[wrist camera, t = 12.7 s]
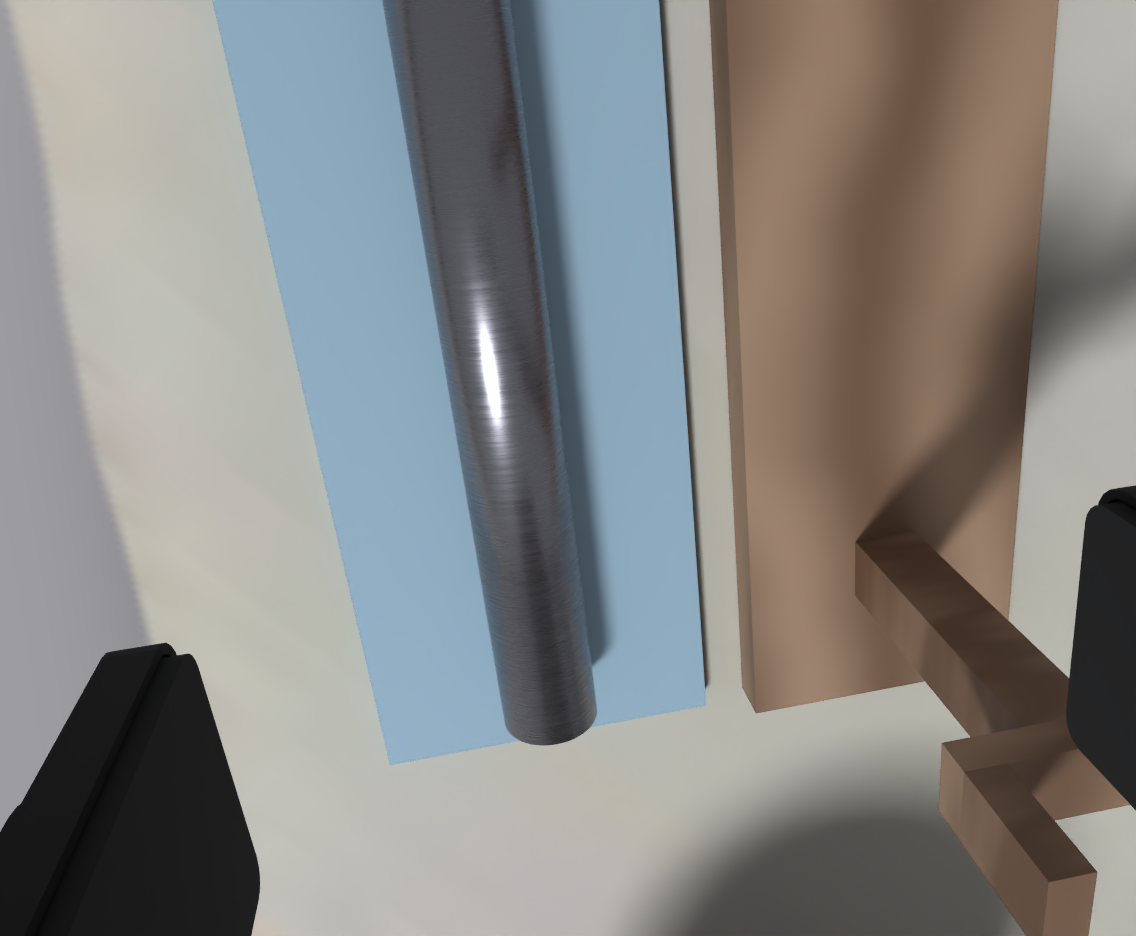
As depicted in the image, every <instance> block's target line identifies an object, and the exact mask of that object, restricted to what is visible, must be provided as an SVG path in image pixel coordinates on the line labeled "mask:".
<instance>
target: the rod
mask: <svg viewBox="0 0 1136 936" xmlns="http://www.w3.org/2000/svg"><path fill="white" fill-rule="evenodd" d="M382 2H383V8H384V14H385V20H386V26H387V32H388V38H389V44H390V50H391V56H392V61H393V67H394V73H395V79H396V85H397V91H398V97H399V103H400V109H401V114H402V120H403V126H404V132H405V138H406V144H407V150H408V156H409V162H410V168H411V173H412V179H413V185H414V191H415V197H416V203H417V209H418V215H419V221H420V227H421V232H422V238H423V244H424V250H425V256H426V262H427V268H428V274H429V280H430V286H431V291H432V297H433V303H434V309H435V315H436V321H437V327H438V333H439V339H440V345H441V350H442V356H443V362H444V368H445V374H446V380H447V386H448V392H449V398H450V403H451V409H452V415H453V421H454V427H455V433H456V439H457V445H458V451H459V457H460V462H461V468H462V474H463V480H464V486H465V492H466V498H467V504H468V510H469V516H470V521H471V527H472V533H473V539H474V545H475V551H476V557H477V563H478V569H479V575H480V580H481V586H482V592H483V598H484V604H485V610H486V616H487V622H488V628H489V634H490V639H491V645H492V651H493V657H494V663H495V669H496V675H497V681H498V687H499V692H500V698H501V704H502V710H503V716H504V722H505V726H506V728H507V730H508V732H509V733H510V734H511V735H512V736H513V737H515V738H516V739H518V740H520V741H522V742H525V743H529V744H534V745H554V744H559V743H563V742H567V741H570V740H572V739H574V738H576V737H578V736H580V735H581V734H583V733H584V732H585V731H587V730H588V729H589V728H590V727H591V726H592V724H593V723H594V721H595V719H596V716H597V704H596V696H595V687H594V679H593V671H592V663H591V655H590V646H589V638H588V630H587V622H586V614H585V605H584V597H583V589H582V581H581V573H580V564H579V556H578V548H577V540H576V532H575V523H574V515H573V507H572V499H571V491H570V482H569V474H568V466H567V458H566V450H565V441H564V433H563V425H562V417H561V409H560V400H559V392H558V384H557V376H556V367H555V359H554V351H553V343H552V335H551V326H550V318H549V310H548V302H547V294H546V285H545V277H544V269H543V261H542V253H541V244H540V236H539V228H538V220H537V212H536V203H535V195H534V187H533V179H532V171H531V162H530V154H529V146H528V138H527V130H526V121H525V113H524V105H523V97H522V89H521V80H520V72H519V64H518V56H517V48H516V39H515V31H514V23H513V15H512V7H511V0H382Z"/></svg>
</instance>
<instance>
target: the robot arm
mask: <svg viewBox="0 0 1136 936" xmlns="http://www.w3.org/2000/svg"><path fill="white" fill-rule="evenodd" d="M1066 721H1067V726H1068V730H1069V733H1070V735H1071V738H1072V740H1073V741H1074V743H1075V745H1076V746H1077V748H1078V749H1079V750H1080V751H1081V752H1082V753H1083V755H1084V756H1085V757H1086V758H1087V759H1088V760H1089V761H1090V762H1091V763H1092V764H1093V765H1094V766H1095V767H1096V768H1097V769H1098V771H1099V772H1100V773H1101V774H1102V775H1103V776H1104V777H1105V778H1106V779H1107V780H1108V781H1109V782H1110V783H1111V784H1112V785H1113V787H1114V788H1115V789H1116V790H1117V791H1118V792H1119V793H1120V794H1121V795H1122V796H1123V797H1124V798H1125V799H1126V800H1127V802H1128V803H1129V804H1130V805H1131V806H1132V807H1133V808H1134V809H1135V810H1136V486H1130V487H1123V488H1117V489H1111V490H1109V491H1107V492H1106V493H1104V494H1103V496H1102V498H1101V499H1100V501H1099V504H1098V505H1097V506H1094V507H1092V508H1091V509H1090V510H1089V512H1088V514H1087V517H1086V521H1085V530H1084V540H1083V550H1082V560H1081V570H1080V580H1079V589H1078V599H1077V609H1076V619H1075V629H1074V639H1073V649H1072V659H1071V669H1070V678H1069V688H1068V698H1067V708H1066ZM259 893H260V873H259V866H258V861H257V857H256V853H255V850H254V847H253V843H252V840H251V837H250V834H249V830H248V827H247V824H246V821H245V817H244V814H243V811H242V808H241V805H240V801H239V798H238V795H237V792H236V788H235V785H234V782H233V779H232V775H231V772H230V769H229V766H228V762H227V759H226V756H225V753H224V749H223V746H222V743H221V740H220V736H219V733H218V730H217V727H216V723H215V720H214V717H213V714H212V710H211V707H210V704H209V701H208V697H207V694H206V691H205V688H204V684H203V681H202V678H201V675H200V671H199V668H198V666H197V663H196V661H195V659H194V658H193V656H192V655H190V654H184V655H178V656H177V655H176V652H175V651H174V649H173V648H172V646H171V645H169V644H167V643H161V644H155V645H149V646H143V647H137V648H131V649H124V650H118V651H113V652H108V653H106V654H105V655H104V656H103V657H102V658H101V660H100V662H99V664H98V666H97V667H96V670H95V671H94V673H93V675H92V676H91V678H90V680H89V682H88V684H87V686H86V687H85V689H84V691H83V693H82V695H81V696H80V698H79V700H78V702H77V704H76V706H75V707H74V709H73V711H72V713H71V714H70V716H69V718H68V720H67V722H66V724H65V725H64V727H63V729H62V731H61V732H60V734H59V736H58V738H57V740H56V742H55V743H54V745H53V747H52V749H51V751H50V753H49V754H48V756H47V758H46V760H45V762H44V763H43V765H42V767H41V769H40V770H39V772H38V774H37V776H36V778H35V780H34V781H33V783H32V785H31V787H30V789H29V790H28V792H27V794H26V796H25V798H24V799H23V801H22V803H21V804H20V805H19V806H17V808H16V809H15V810H14V811H13V813H12V814H11V815H10V816H9V818H8V819H7V821H6V823H5V825H4V827H3V828H2V830H1V832H0V936H251V934H252V929H253V924H254V919H255V914H256V910H257V905H258V900H259Z"/></svg>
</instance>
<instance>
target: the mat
mask: <svg viewBox="0 0 1136 936" xmlns="http://www.w3.org/2000/svg"><path fill="white" fill-rule="evenodd" d="M213 5H214V9H215V13H216V18H217V22H218V26H219V31H220V35H221V39H222V43H223V48H224V52H225V56H226V61H227V65H228V69H229V74H230V78H231V82H232V87H233V91H234V95H235V99H236V104H237V108H238V112H239V117H240V121H241V125H242V130H243V134H244V138H245V143H246V147H247V151H248V155H249V160H250V164H251V168H252V173H253V177H254V181H255V186H256V190H257V194H258V199H259V203H260V207H261V211H262V216H263V220H264V224H265V229H266V233H267V237H268V242H269V246H270V250H271V255H272V259H273V263H274V267H275V272H276V276H277V280H278V285H279V289H280V293H281V298H282V302H283V306H284V311H285V315H286V319H287V323H288V328H289V332H290V336H291V341H292V345H293V349H294V354H295V358H296V362H297V367H298V371H299V375H300V379H301V384H302V388H303V392H304V397H305V401H306V405H307V410H308V414H309V418H310V423H311V427H312V431H313V435H314V440H315V444H316V448H317V453H318V457H319V461H320V466H321V470H322V474H323V479H324V483H325V487H326V491H327V496H328V500H329V504H330V509H331V513H332V517H333V522H334V526H335V530H336V535H337V539H338V543H339V547H340V552H341V556H342V560H343V565H344V569H345V573H346V578H347V582H348V586H349V591H350V595H351V599H352V603H353V608H354V612H355V616H356V621H357V625H358V629H359V634H360V638H361V642H362V647H363V651H364V655H365V659H366V664H367V668H368V672H369V677H370V681H371V685H372V690H373V694H374V698H375V703H376V707H377V711H378V715H379V720H380V724H381V728H382V733H383V737H384V741H385V746H386V750H387V754H388V759H389V763H390V765H393V764H398V763H404V762H409V761H414V760H420V759H425V758H430V757H436V756H441V755H446V754H451V753H457V752H462V751H467V750H473V749H478V748H483V747H489V746H494V745H499V744H504V743H510V742H515V741H520V740H518V739H516V738H515V737H513V736H512V735H511V734H510V733H509V732H508V730H507V728H506V726H505V722H504V716H503V710H502V704H501V698H500V692H499V687H498V681H497V675H496V669H495V663H494V657H493V651H492V645H491V639H490V634H489V628H488V622H487V616H486V610H485V604H484V598H483V592H482V586H481V580H480V575H479V569H478V563H477V557H476V551H475V545H474V539H473V533H472V527H471V521H470V516H469V510H468V504H467V498H466V492H465V486H464V480H463V474H462V468H461V462H460V457H459V451H458V445H457V439H456V433H455V427H454V421H453V415H452V409H451V403H450V398H449V392H448V386H447V380H446V374H445V368H444V362H443V356H442V350H441V345H440V339H439V333H438V327H437V321H436V315H435V309H434V303H433V297H432V291H431V286H430V280H429V274H428V268H427V262H426V256H425V250H424V244H423V238H422V232H421V227H420V221H419V215H418V209H417V203H416V197H415V191H414V185H413V179H412V173H411V168H410V162H409V156H408V150H407V144H406V138H405V132H404V126H403V120H402V114H401V109H400V103H399V97H398V91H397V85H396V79H395V73H394V67H393V61H392V56H391V50H390V44H389V38H388V32H387V26H386V20H385V14H384V8H383V2H382V0H213ZM511 7H512V15H513V23H514V31H515V39H516V48H517V56H518V64H519V72H520V80H521V89H522V97H523V105H524V113H525V121H526V130H527V138H528V146H529V154H530V162H531V171H532V179H533V187H534V195H535V203H536V212H537V220H538V228H539V236H540V244H541V253H542V261H543V269H544V277H545V285H546V294H547V302H548V310H549V318H550V326H551V335H552V343H553V351H554V359H555V367H556V376H557V384H558V392H559V400H560V409H561V417H562V425H563V433H564V441H565V450H566V458H567V466H568V474H569V482H570V491H571V499H572V507H573V515H574V523H575V532H576V540H577V548H578V556H579V564H580V573H581V581H582V589H583V597H584V605H585V614H586V622H587V630H588V638H589V646H590V655H591V663H592V671H593V679H594V687H595V696H596V704H597V716H596V719H595V721H594V723H593V724H592V726H591V727H595V726H600V725H605V724H610V723H616V722H621V721H626V720H632V719H637V718H642V717H648V716H653V715H658V714H663V713H669V712H674V711H679V710H685V709H690V708H695V707H701V706H706V697H705V682H704V667H703V652H702V637H701V622H700V607H699V592H698V577H697V563H696V548H695V533H694V518H693V503H692V488H691V473H690V458H689V443H688V428H687V413H686V398H685V383H684V368H683V353H682V338H681V323H680V308H679V293H678V278H677V263H676V248H675V233H674V218H673V203H672V188H671V174H670V159H669V144H668V129H667V114H666V99H665V84H664V69H663V54H662V39H661V24H660V9H659V0H511Z"/></svg>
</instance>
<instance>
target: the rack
mask: <svg viewBox="0 0 1136 936" xmlns="http://www.w3.org/2000/svg"><path fill="white" fill-rule="evenodd" d="M1058 2H1059V0H709V5H710V25H711V46H712V67H713V88H714V108H715V129H716V150H717V171H718V191H719V212H720V233H721V254H722V274H723V295H724V316H725V337H726V357H727V378H728V399H729V420H730V440H731V461H732V482H733V503H734V523H735V544H736V565H737V586H738V606H739V627H740V648H741V669H742V688H743V690H744V691H745V693H746V695H747V697H748V699H749V701H750V703H751V705H752V707H753V709H754V711H755V712H756V713H761V712H766V711H771V710H776V709H782V708H787V707H792V706H797V705H803V704H808V703H813V702H818V701H824V700H829V699H834V698H839V697H845V696H850V695H855V694H860V693H866V692H871V691H876V690H881V689H887V688H892V687H897V686H902V685H908V684H913V683H918V682H923V681H925V682H926V683H927V684H928V685H929V687H930V688H931V689H932V690H933V691H934V693H935V694H936V695H937V696H938V698H939V699H940V700H941V701H942V702H943V704H944V705H945V706H946V707H947V709H948V710H949V711H950V712H951V713H952V715H953V716H954V717H955V718H956V720H957V721H958V722H959V723H960V724H961V726H962V727H963V728H964V729H965V731H966V732H967V733H968V734H969V735H970V738H965V739H960V740H955V741H950V742H945V743H942V750H941V769H940V788H939V807H938V810H939V811H940V813H941V814H942V816H943V817H944V818H945V820H946V821H947V823H948V824H949V826H950V827H951V828H952V830H953V831H954V833H955V834H956V836H957V837H958V838H959V840H960V841H961V843H962V844H963V846H964V847H965V849H966V850H967V851H968V853H969V854H970V856H971V857H972V859H973V860H974V861H975V863H976V864H977V866H978V867H979V869H980V870H981V871H982V873H983V874H984V876H985V877H986V879H987V880H988V881H989V883H990V884H991V886H992V887H993V889H994V890H995V892H996V893H997V894H998V896H999V897H1000V899H1001V900H1002V902H1003V903H1004V904H1005V906H1006V907H1007V909H1008V910H1009V912H1010V913H1011V914H1012V916H1013V917H1014V919H1015V920H1016V922H1017V923H1018V925H1019V926H1020V927H1021V929H1022V930H1023V932H1024V933H1025V935H1026V936H1088V935H1089V928H1090V920H1091V913H1092V906H1093V899H1094V892H1095V885H1096V878H1097V871H1096V870H1095V869H1094V867H1093V866H1092V865H1091V864H1090V863H1089V861H1088V860H1087V859H1086V858H1085V857H1084V855H1083V854H1082V853H1081V852H1080V851H1079V849H1078V848H1077V847H1076V846H1075V845H1074V844H1073V842H1072V841H1071V840H1070V839H1069V838H1068V836H1067V835H1066V834H1065V833H1064V832H1063V830H1062V829H1061V828H1060V827H1059V826H1058V824H1057V823H1056V822H1055V821H1054V820H1059V819H1064V818H1069V817H1073V816H1078V815H1083V814H1088V813H1093V812H1098V811H1102V810H1107V809H1112V808H1117V807H1122V806H1127V805H1130V804H1129V803H1128V802H1127V800H1126V799H1125V798H1124V797H1123V796H1122V795H1121V794H1120V793H1119V792H1118V791H1117V790H1116V789H1115V788H1114V787H1113V785H1112V784H1111V783H1110V782H1109V781H1108V780H1107V779H1106V778H1105V777H1104V776H1103V775H1102V774H1101V773H1100V772H1099V771H1098V769H1097V768H1096V767H1095V766H1094V765H1093V764H1092V763H1091V762H1090V761H1089V760H1088V759H1087V758H1086V757H1085V756H1084V755H1083V753H1082V752H1081V751H1080V750H1079V749H1078V748H1077V746H1076V745H1075V743H1074V741H1073V740H1072V738H1071V735H1070V733H1069V730H1068V726H1067V721H1066V708H1067V698H1068V688H1069V678H1068V677H1067V676H1066V675H1065V674H1064V673H1063V672H1062V671H1061V670H1059V669H1058V668H1057V667H1056V666H1055V665H1054V664H1053V663H1052V662H1051V661H1050V660H1049V659H1048V658H1047V657H1046V656H1045V655H1044V654H1043V653H1042V652H1041V651H1040V650H1039V649H1037V648H1036V647H1035V646H1034V645H1033V644H1032V643H1031V642H1030V641H1029V640H1028V639H1027V638H1026V637H1025V636H1024V635H1023V634H1022V633H1021V632H1020V631H1019V630H1018V629H1017V628H1015V627H1014V626H1013V625H1012V624H1011V623H1010V622H1009V621H1008V618H1009V606H1010V594H1011V581H1012V569H1013V557H1014V544H1015V532H1016V520H1017V507H1018V495H1019V483H1020V470H1021V458H1022V446H1023V433H1024V421H1025V409H1026V396H1027V384H1028V372H1029V359H1030V347H1031V335H1032V323H1033V310H1034V298H1035V286H1036V273H1037V261H1038V249H1039V236H1040V224H1041V212H1042V199H1043V187H1044V175H1045V162H1046V150H1047V138H1048V125H1049V113H1050V101H1051V88H1052V76H1053V64H1054V52H1055V39H1056V27H1057V15H1058Z"/></svg>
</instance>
